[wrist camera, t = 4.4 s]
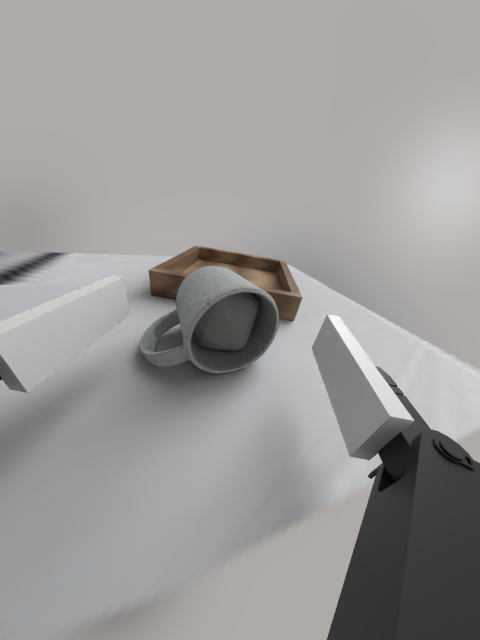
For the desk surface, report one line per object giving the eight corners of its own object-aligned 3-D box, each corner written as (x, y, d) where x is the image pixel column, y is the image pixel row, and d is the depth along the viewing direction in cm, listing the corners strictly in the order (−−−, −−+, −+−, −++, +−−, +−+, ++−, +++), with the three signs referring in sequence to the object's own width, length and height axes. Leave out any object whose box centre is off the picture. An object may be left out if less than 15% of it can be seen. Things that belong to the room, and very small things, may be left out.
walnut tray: (151, 295, 25) (148, 270, 24) (196, 261, 42) (196, 245, 41) (293, 320, 25) (302, 297, 23) (280, 276, 42) (285, 261, 40)
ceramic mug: (234, 318, 23) (243, 257, 19) (269, 363, 17) (292, 287, 13) (141, 331, 19) (126, 254, 15) (144, 398, 13) (121, 299, 9)
